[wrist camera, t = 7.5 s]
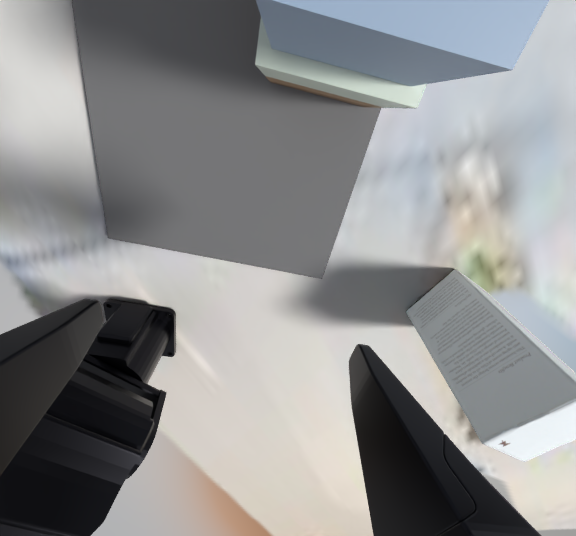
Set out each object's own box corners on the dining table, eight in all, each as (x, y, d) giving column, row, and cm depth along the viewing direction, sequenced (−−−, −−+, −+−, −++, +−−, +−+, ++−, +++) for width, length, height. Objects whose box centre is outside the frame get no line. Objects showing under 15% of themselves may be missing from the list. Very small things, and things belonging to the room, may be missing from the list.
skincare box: (433, 328, 27) (522, 465, 17) (404, 310, 26) (479, 446, 15) (486, 287, 24) (630, 421, 14) (456, 265, 23) (588, 394, 13)
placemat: (321, 276, 24) (322, 278, 23) (110, 236, 22) (108, 238, 21) (478, -181, 11) (484, -190, 11) (23, -365, 9) (13, -383, 9)
